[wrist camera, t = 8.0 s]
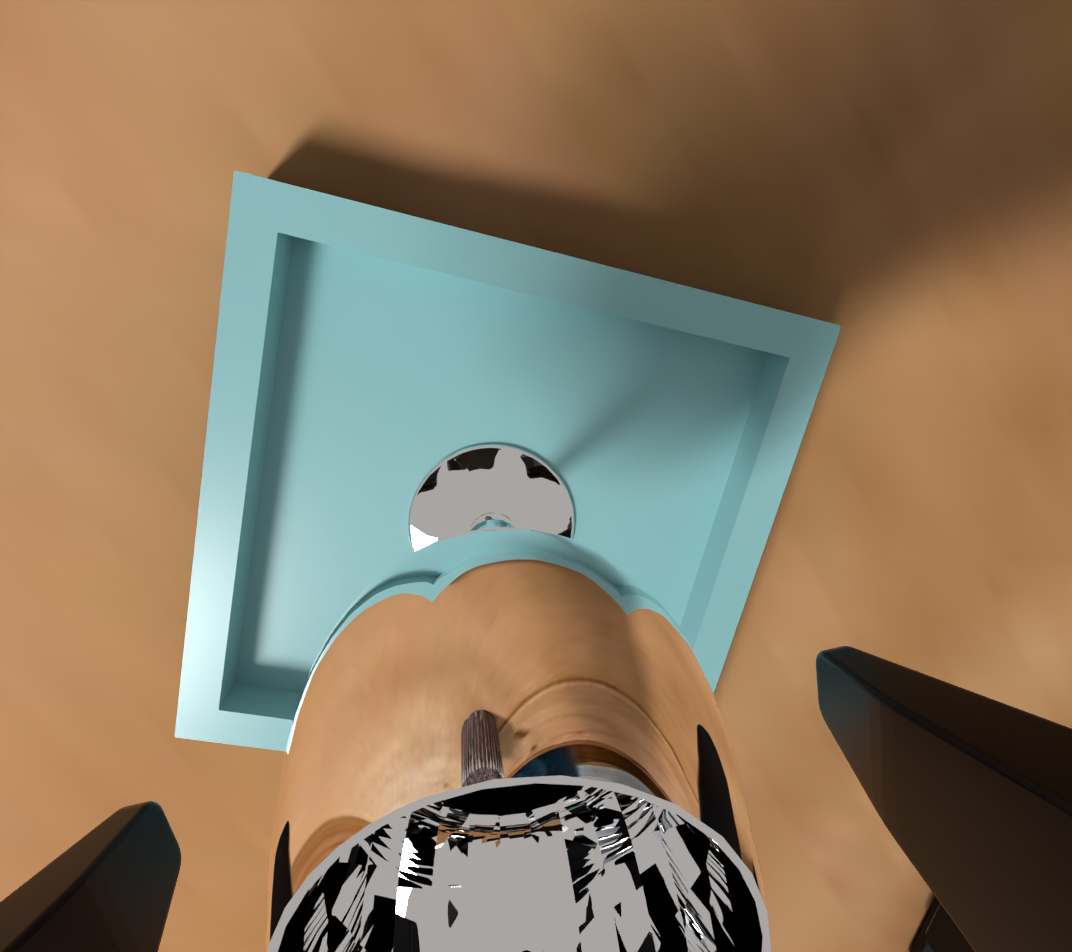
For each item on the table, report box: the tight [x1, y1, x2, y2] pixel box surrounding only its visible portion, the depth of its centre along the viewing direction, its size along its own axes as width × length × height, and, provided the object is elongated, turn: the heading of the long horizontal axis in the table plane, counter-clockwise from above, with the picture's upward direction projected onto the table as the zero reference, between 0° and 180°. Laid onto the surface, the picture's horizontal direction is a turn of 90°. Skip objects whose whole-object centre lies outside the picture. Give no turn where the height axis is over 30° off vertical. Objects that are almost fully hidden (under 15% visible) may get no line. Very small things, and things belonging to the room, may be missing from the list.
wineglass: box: [265, 444, 771, 952], centre depth 12 cm, size 6×6×12 cm
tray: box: [175, 170, 841, 751], centre depth 17 cm, size 14×14×2 cm
